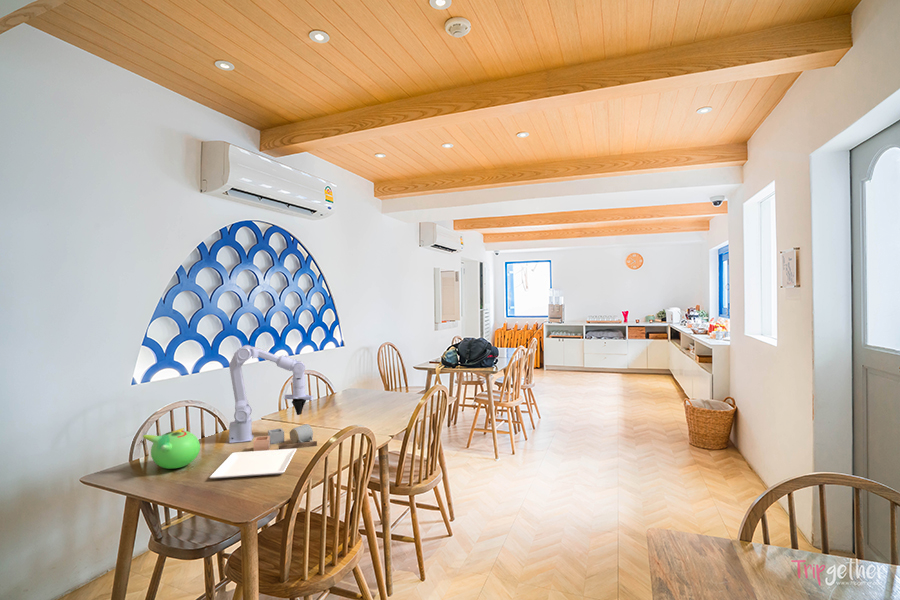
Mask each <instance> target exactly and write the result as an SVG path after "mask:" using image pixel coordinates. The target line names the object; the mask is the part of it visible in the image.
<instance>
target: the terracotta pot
mask: <svg viewBox="0 0 900 600" xmlns="http://www.w3.org/2000/svg"><path fill="white" fill-rule="evenodd" d="M253 439H254V440H253V451H265V450H271V449H270V448H271V445H270V436H268V435H264V436H263V435H262V436H256V437H254V438H253Z"/></svg>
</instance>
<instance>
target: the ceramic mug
mask: <svg viewBox="0 0 900 600" xmlns="http://www.w3.org/2000/svg"><path fill="white" fill-rule="evenodd" d="M313 437H314V432H313V429H312V426H311V425H310V424H308V423H305V424H301V425H300V426H296V427H294V428H292V429H291V430H290V432H289V438H290V439H289V440H290V441H291V444H293V443H302V442H312V441H314V440H313Z"/></svg>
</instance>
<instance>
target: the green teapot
mask: <svg viewBox="0 0 900 600" xmlns="http://www.w3.org/2000/svg"><path fill="white" fill-rule="evenodd" d="M185 429H186V427H182V428H178V429H175V430H173V431H172V430H171V431H169V432H166V433H163V434H162V435H152V434H151V435H150V434H144V435H143V436H142V438H143V439H145V440H147V441H148V442H151V443H152V445H151V447H150V456H151V459H152V460H153V461H152V462H154V463H155V465H157V466H159V467H160V468H163V469H180V468H183V467H186V466H187V465H190V463H192V462H193V461H194V460H195V459H196V458H197V457H198V456H199V454H200V450H201V444H200V441H199V439H198V437H197V436H196V435H195V434H194V433H192V432H190V431H188V430H185Z"/></svg>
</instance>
